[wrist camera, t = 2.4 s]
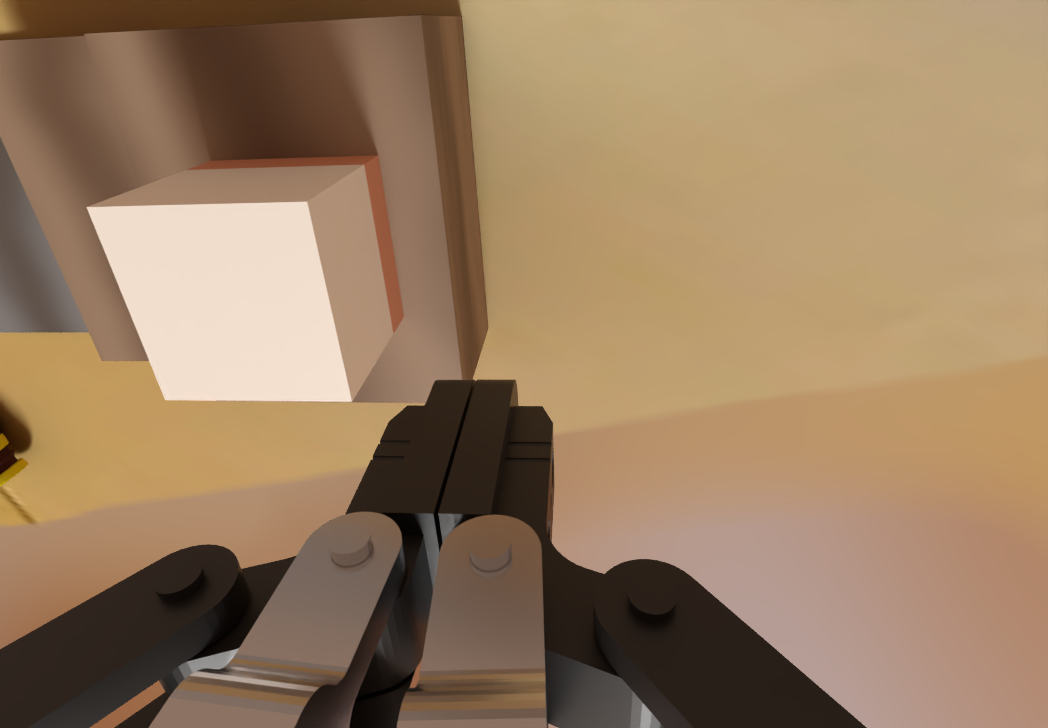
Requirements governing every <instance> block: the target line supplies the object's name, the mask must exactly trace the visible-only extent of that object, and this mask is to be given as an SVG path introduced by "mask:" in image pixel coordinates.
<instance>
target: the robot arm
mask: <svg viewBox="0 0 1048 728" xmlns="http://www.w3.org/2000/svg"><path fill="white" fill-rule="evenodd" d="M553 503H554V455H553V423H552V421H551V419H550V418H549V416H548V415H547V413H546V411H545V410H544V408H543V406H518V394H517V383H516V380H476V381H475V380H435V382H434V384H433V386H432V389H431V391H430V394H429V396H428V399H427V401H426V404H425V406H407V407H405V408H404V409H403V410H402V411H401V412H400V413H399V414H397V415H396V416H395V417H394V418H393V419H392V420H390V421H389V423H388V425H387V427H386V429H385V431H384V434H383V436H382V438H381V440H380V444H378V446H377V448H376V450H375V453H374V455H373V460H371V461H370V463H369V465H368V467H367V469H366V472H365V474H364V476H363V478H362V481H361V482H360V484H359V487H358V489H357V491H356V493H355V495H354V497H353V499H352V501H351V504H350V505H349V508H348V510H347V512H346V514H345V515H342V516H339V517H337V518H335V519H332V520H330V521H328V522H327V523H325V524H323V525H322V526H321V527H319V528H318V529H317V530H316V531H314V532H313V533H312V534H311V535H310V537H309V538H308V539H307V541H306V542H305V544H304V545H303V547H302V548H301V550H300V551H299V553H298V555H297V556H294V557H291V558H287V559H283V560H279V561H275V562H270V563H267V564H262V565H257V566H253V567H248V568H244V569H241V568H240V565H239V562H238V560H237V558H236V556H235V555H234V554H233V552H231V551H230V550H229V549H227V548H225V547H222V546H218V545H198V546H192V547H188V548H185V549H181V550H179V551H176V552H174V553H171V554H169V555H167V556H166V557H164V558H162V559H160V560H159V561H156V562H155V563H153V564H151V565H149V566H147V567H146V568H144V569H142V570H140V571H139V572H137V573H135V574H133V575H132V576H130V577H128V578H126V579H125V580H123V581H121V582H119V583H117V584H115V585H114V586H112V587H110V588H108V589H107V590H105V591H103V592H101V593H99V594H98V595H96V596H94V597H92V598H91V599H89V600H87V601H85V602H84V603H82V604H80V605H78V606H76V607H75V608H73V609H71V610H69V611H68V612H66V613H64V614H62V615H60V616H59V617H57V618H55V619H53V620H52V621H50V622H48V623H46V624H44V625H43V626H41V627H39V628H37V629H36V630H34V631H32V632H30V633H28V634H27V635H25V636H23V637H21V638H19V639H18V640H16V641H14V642H12V643H11V644H9V645H7V646H5V647H4V648H2V649H0V728H89V727H91V726H92V725H93V724H95V723H97V722H98V721H99V720H101V719H102V718H104V717H105V716H107V715H108V714H110V713H111V712H113V711H114V710H116V709H117V708H119V707H120V706H122V705H123V704H124V703H126V702H128V701H129V700H130V699H132V698H133V697H135V696H136V695H138V694H139V693H141V692H142V691H144V690H145V689H146V688H148V687H150V686H151V685H152V684H154V683H155V682H157V681H158V680H159V681H160V683H161V685H162V687H163V688H164V690H165V693H163V694H162V695H161V696H159V697H158V698H156V699H155V700H153V701H152V702H151V703H149V704H148V705H146V706H145V707H144V708H142V709H141V710H139V711H138V712H136V713H135V714H133V715H132V716H131V717H129V718H128V719H126V720H125V721H123V722H122V723H120V724H119V725H118V726H116V727H115V728H548V723H549V724H551V725H554V726H556V727H558V728H866V727H865V726H864V725H863V724H862V723H861V722H859V721H858V720H857V719H856V718H855V717H854V716H852V715H851V714H850V713H849V712H848V711H847V710H845V709H844V708H843V707H842V706H841V705H840V704H838V703H837V702H836V701H835V700H834V699H833V698H832V697H830V696H829V695H828V694H827V693H826V692H825V691H823V690H822V689H821V688H820V687H819V686H818V685H816V684H815V683H814V682H813V681H812V680H811V679H809V678H808V677H807V676H806V675H805V674H804V673H802V672H801V671H800V670H799V669H798V668H797V667H796V666H794V665H793V664H792V663H791V662H790V661H789V660H787V659H786V658H785V657H784V656H783V655H782V654H780V653H779V652H778V651H777V650H776V649H775V648H773V647H772V646H771V645H770V644H769V643H768V642H767V641H765V640H764V639H763V638H762V637H761V636H759V635H758V634H757V633H756V632H755V631H754V630H753V629H751V628H750V627H749V626H748V625H747V624H746V623H744V622H743V621H742V620H741V619H740V618H739V617H737V616H736V615H735V614H734V613H733V612H732V611H731V610H729V609H728V608H727V607H726V606H725V605H724V604H722V603H721V602H720V601H719V600H718V599H717V598H715V597H714V596H713V595H712V594H711V593H710V592H708V591H707V590H706V589H705V588H704V587H703V586H701V585H700V584H699V583H698V582H697V581H696V580H694V579H693V578H692V577H691V576H690V575H688V574H687V573H686V572H684V571H683V570H681V569H679V568H677V567H676V566H673V565H671V564H668V563H665V562H661V561H657V560H649V559H637V560H631V561H627V562H623V563H621V564H619V565H617V566H614V567H613V568H611V569H610V570H609V571H607V572H606V573H605V574H602V573H599V572H596V571H593V570H589V569H586V568H583V567H581V566H579V565H576V564H574V563H573V562H571V561H569V560H568V559H566V558H565V557H563V556H562V555H561V554H560V553H559V552H558V551H557V550H556V549H555V547H554V546H553V544H552V522H553Z"/></svg>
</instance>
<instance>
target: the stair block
mask: <svg viewBox="0 0 1048 728" xmlns="http://www.w3.org/2000/svg"><path fill="white" fill-rule="evenodd" d="M84 35H85V36H73V37H55V38H37V39H19V40H1V41H0V332H89V333H90V336H91V338H92V340H93V342H94V344H95V347H96V349H97V351H98V353H99V356H100V358H101V360H102V361H149V359H148V357H147V354H146V352H145V349H144V347H143V344H142V342H141V339H140V337H139V335H138V332H137V330H136V327H135V325H134V322H133V320H132V317H131V315H130V312H129V310H128V308H127V305H126V303H125V300H124V298H123V295H122V293H121V290H120V288H119V286H118V283H117V281H116V278H115V276H114V273H113V271H112V268H111V266H110V264H109V261H108V259H107V256H106V254H105V251H104V249H103V246H102V244H101V242H100V239H99V237H98V234H97V232H96V229H95V227H94V224H93V222H92V220H91V217H90V215H89V212H88V210H87V207H88V206H91V205H93V204H96V203H99V202H101V201H104V200H107V199H109V198H112V197H115V196H118V195H120V194H123V193H126V192H128V191H131V190H134V189H136V188H139V187H142V186H144V185H147V184H150V183H152V182H155V181H158V180H160V179H163V178H166V177H168V176H171V175H174V174H176V173H179V172H182V171H185V170H187V169H190V168H193V167H195V166H198V165H201V164H203V163H206V162H209V161H217V160H248V159H279V158H310V157H341V156H372V155H378V156H379V163H380V169H381V175H382V181H383V188H384V194H385V200H386V206H387V213H388V219H389V225H390V231H391V238H392V244H393V250H394V256H395V263H396V269H397V275H398V281H399V288H400V294H401V300H402V306H403V313H404V318H403V319H402V321H401V323H400V324H399V326H398V327H397V329H396V331H395V332H394V334H393V336H392V337H391V339H390V341H389V342H388V344H387V345H386V347H385V349H384V350H383V352H382V354H381V355H380V357H379V359H378V360H377V362H376V363H375V365H374V367H373V368H372V370H371V372H370V373H369V375H368V377H367V378H366V380H365V381H364V383H363V385H362V386H361V388H360V390H359V391H358V393H357V395H356V396H355V398H354V400H353V401H352V402H378V403H426V401H427V399H428V396H429V394H430V391H431V389H432V386H433V384H434V382H435V380H472V379H473V376H474V372H475V369H476V366H477V363H478V360H479V356H480V353H481V350H482V347H483V344H484V341H485V337H486V334H487V331H488V321H487V309H486V297H485V285H484V273H483V261H482V249H481V238H480V226H479V214H478V202H477V190H476V178H475V167H474V155H473V143H472V131H471V119H470V107H469V96H468V84H467V72H466V60H465V48H464V36H463V24H462V17H458V16H432V15H413V16H395V17H377V18H359V19H341V20H323V21H305V22H287V23H269V24H251V25H233V26H215V27H197V28H180V29H162V30H144V31H126V32H108V33H90V34H84ZM216 401H217V400H216ZM277 402H319V401H277Z"/></svg>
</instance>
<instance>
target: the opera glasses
mask: <svg viewBox="0 0 1048 728" xmlns="http://www.w3.org/2000/svg"><path fill="white" fill-rule="evenodd" d="M8 443H9V442H8V440H7V439H6V437H5V436H4V435H3V433H1V434H0V486H2V485H3V484H4V483H6V482H7V481H9V480H10V479H11V478H12V477H14V476H15V475H16V474H18V473H19V472H20V471H21V470H22V469H24V468H25V467H26V466H27V465H28V462H26V461H25V460H24V459H23V458H20V459H18V460H17V459H16V458H15V456H14V453H15V451H14V450H10V449H9V448H8V447H7V445H8Z"/></svg>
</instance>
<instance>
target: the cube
mask: <svg viewBox="0 0 1048 728" xmlns="http://www.w3.org/2000/svg"><path fill="white" fill-rule="evenodd" d="M87 210H88V212H89V215H90V217H91V220H92V222H93V224H94V227H95V229H96V232H97V234H98V237H99V239H100V242H101V244H102V246H103V249H104V251H105V254H106V256H107V259H108V261H109V264H110V266H111V268H112V271H113V273H114V276H115V278H116V281H117V283H118V286H119V288H120V290H121V293H122V295H123V298H124V300H125V303H126V305H127V308H128V310H129V312H130V315H131V317H132V320H133V322H134V325H135V327H136V330H137V332H138V335H139V337H140V339H141V342H142V344H143V347H144V349H145V352H146V354H147V357H148V359H149V361H150V364H151V366H152V369H153V371H154V374H155V376H156V379H157V381H158V383H159V386H160V388H161V391H162V393H163V396H164V398H165V400H217V401H319V402H352V401H353V400H354V398H355V396H356V395H357V393H358V391H359V390H360V388H361V386H362V385H363V383H364V381H365V380H366V378H367V377H368V375H369V373H370V372H371V370H372V368H373V367H374V365H375V363H376V362H377V360H378V359H379V357H380V355H381V354H382V352H383V350H384V349H385V347H386V345H387V344H388V342H389V341H390V339H391V337H392V336H393V334H394V332H395V331H396V329H397V327H398V326H399V324H400V323H401V321H402V319H403V318H404V313H403V306H402V300H401V294H400V288H399V281H398V275H397V269H396V263H395V256H394V250H393V244H392V238H391V231H390V225H389V219H388V213H387V206H386V200H385V194H384V188H383V181H382V175H381V169H380V163H379V156H378V155H372V156H341V157H310V158H279V159H248V160H217V161H209V162H206V163H203V164H201V165H198V166H195V167H193V168H190V169H187V170H185V171H182V172H179V173H176V174H174V175H171V176H168V177H166V178H163V179H160V180H158V181H155V182H152V183H150V184H147V185H144V186H142V187H139V188H136V189H134V190H131V191H128V192H126V193H123V194H120V195H118V196H115V197H112V198H109V199H107V200H104V201H101V202H99V203H96V204H93V205H91V206H88V207H87Z"/></svg>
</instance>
